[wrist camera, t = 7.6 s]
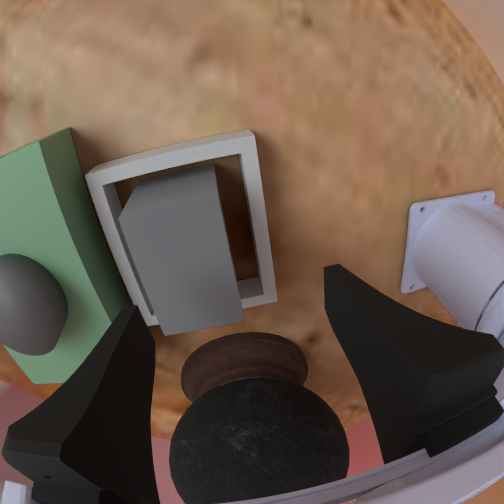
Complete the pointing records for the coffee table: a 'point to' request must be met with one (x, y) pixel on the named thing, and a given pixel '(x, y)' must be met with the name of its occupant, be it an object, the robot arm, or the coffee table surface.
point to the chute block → (183, 250)
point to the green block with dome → (91, 246)
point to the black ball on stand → (253, 424)
